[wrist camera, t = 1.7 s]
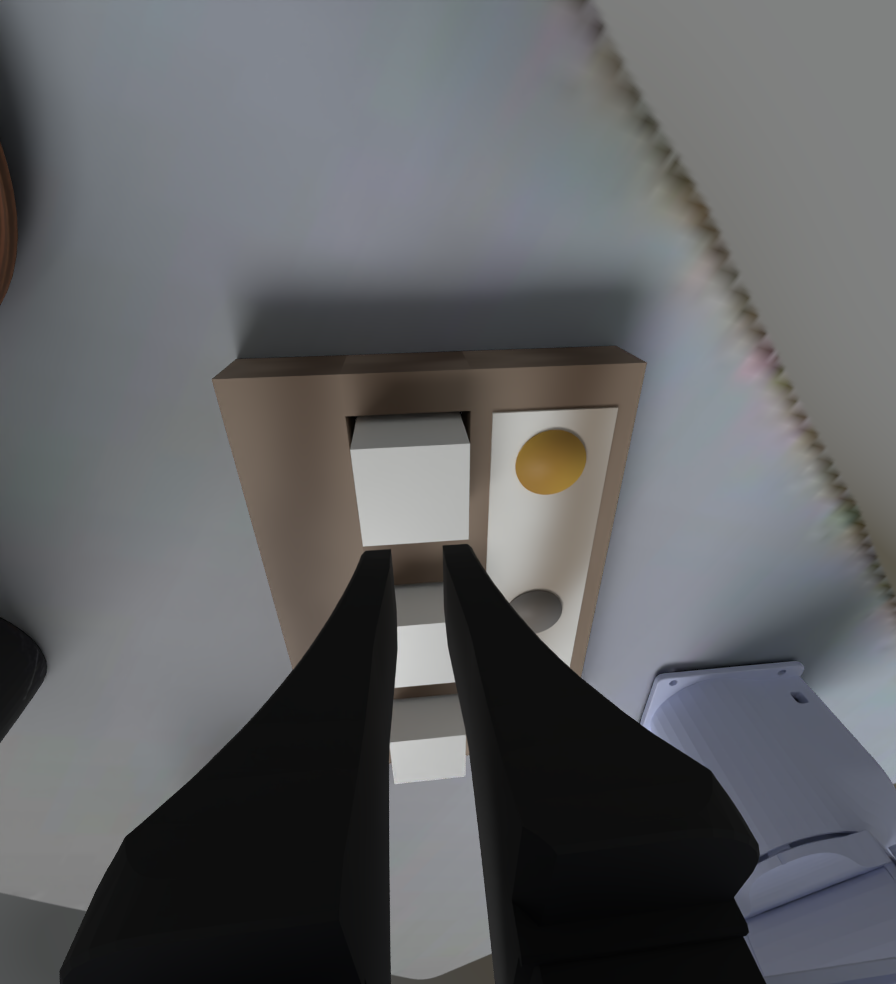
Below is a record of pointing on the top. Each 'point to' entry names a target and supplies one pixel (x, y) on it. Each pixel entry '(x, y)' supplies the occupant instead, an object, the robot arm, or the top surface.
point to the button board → (492, 487)
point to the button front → (411, 477)
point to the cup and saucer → (7, 227)
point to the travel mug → (17, 674)
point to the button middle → (421, 636)
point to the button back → (427, 739)
